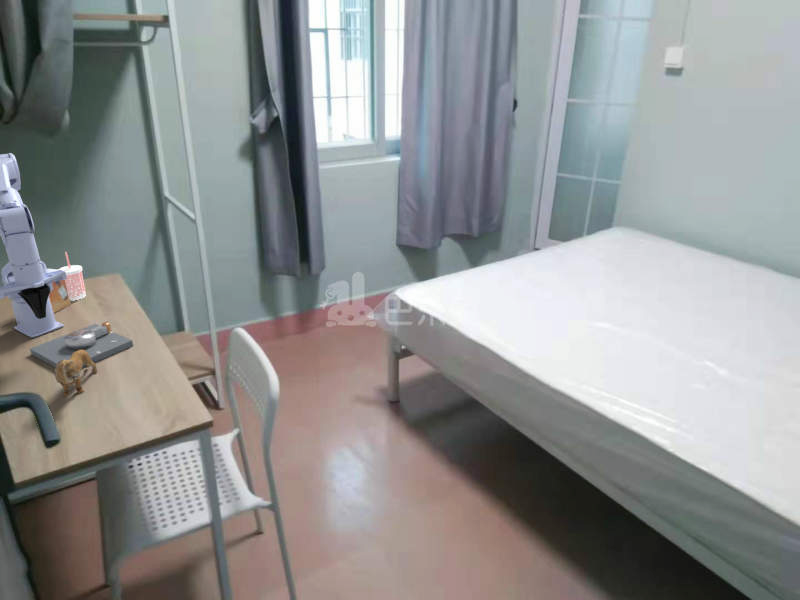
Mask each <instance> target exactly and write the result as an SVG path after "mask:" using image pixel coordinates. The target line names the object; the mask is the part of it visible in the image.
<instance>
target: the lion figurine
mask: <svg viewBox="0 0 800 600" xmlns="http://www.w3.org/2000/svg"><path fill="white" fill-rule="evenodd" d="M83 364H86V366H85V367H86V368H90V367H91V368H92V369H91V373H92V374H96V373H98V369H97V366H96V362H95V363H94V362H92V360H91V358H90V356H89V354H88V352H86V351H85V350H79V351H76V352H74V353H73V354H72V355H71V357H70V359H69V360H66V359H65V360H61V361H60V362H58V364H56V367H54V370H53V371H54V378H55V380H56V382H57V383H59V385H60V386H61V387H62V389H63V390H64V392H63V393H62V395H63V396H64V397H67V396H69V395H70V392H71V391H70V389H69V388H70V386H72V385H74V384H75V389H76V391H77V392H76V393H78V394H83V393H84V392H85V390H84V389H83V387H82V386H83V385H82V381H81V373H82V370H83V368H82V366H83Z"/></svg>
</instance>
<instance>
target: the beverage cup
mask: <svg viewBox="0 0 800 600" xmlns="http://www.w3.org/2000/svg"><path fill="white" fill-rule="evenodd" d="M64 255H65V258H66V263H67V265H65V266H61V267H60V268H59V270H63V271H65V272H66V276H67V279H65V283H66V287H67V291H68V295H69V299H70V300H71V301H70V302H75V300H78V301H80V300H79V299H81V300H83V299H82V298H84V297H85V296H86V297H87V294H86V293H87V292H86V287H85V282H84V276H83V266H82V265H79V264H77V265H76V264H73V265H71V264H70V259H69V255H68V252H67V251H64ZM86 297H85V298H86ZM85 298H84V299H85Z"/></svg>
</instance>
